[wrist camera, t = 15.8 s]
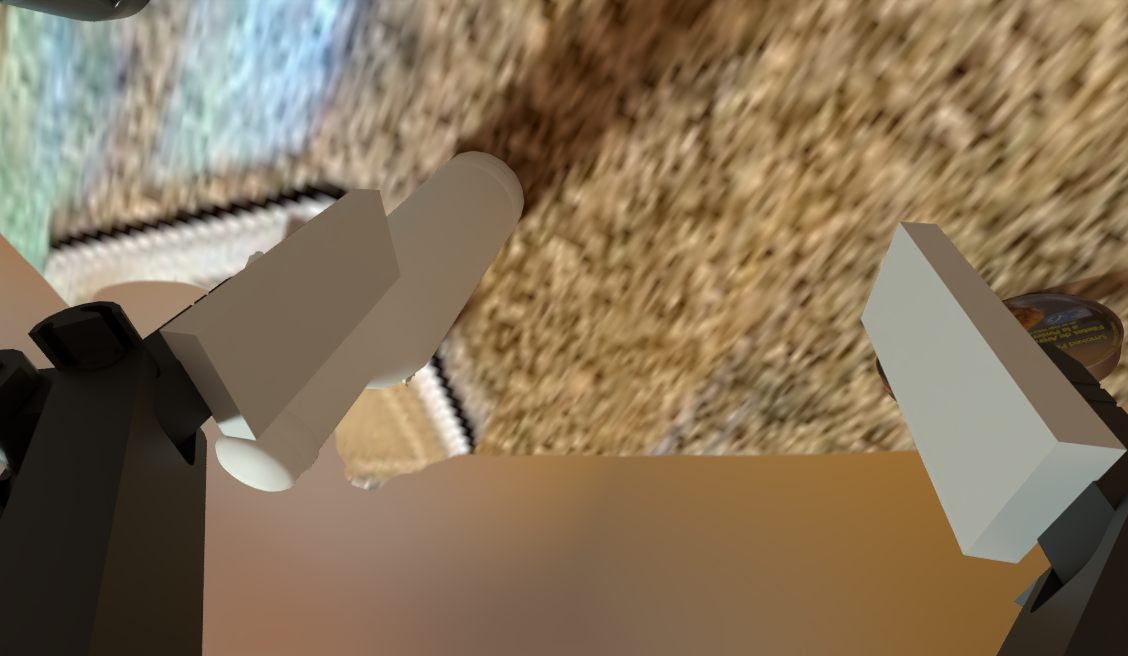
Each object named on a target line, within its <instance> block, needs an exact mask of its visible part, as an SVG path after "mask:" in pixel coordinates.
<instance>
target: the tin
mask: <svg viewBox="0 0 1128 656" xmlns="http://www.w3.org/2000/svg"><path fill="white" fill-rule="evenodd" d="M1002 303H1003V304H1004V305H1005V306H1006V307H1007V308H1008V310H1009V311H1010V312H1011V313H1012V314H1013V316H1014V317H1015V318H1016V319H1017V320H1018V321H1019V323H1020V324H1021V325H1022V326H1023V327H1024V329H1025V330H1026V331H1027V332H1028V333H1029V334H1030V336H1031V337H1032V338H1033V339H1034V340H1035V342H1040V343H1051V344H1053V345H1054V346H1056V347H1058V348H1059V349H1061V350H1062V351H1064V352H1065V353H1067V354H1068V355H1070V356H1071V357H1073V358H1074V359H1076V360H1077V361H1079V362H1080V363H1082V365H1083V366H1084V367H1085V368H1086V369H1087V370H1088V371H1089V372H1090V373H1091V374H1092V375H1093V377H1094V378H1095V379H1096V380H1097V381H1098V382H1099V381H1101V380H1103V379H1104V378H1105V377H1107V376H1108V375H1109V374H1110V373H1111V372H1112V371H1113V370H1114V369H1115V367H1116V366H1117V364H1118V362H1119V359H1120V355H1121V343H1122V341H1123V337H1124V329H1123V325H1122V323H1121V321H1120V319H1119V318H1118V316H1117V315H1116V314H1115V313H1114V312H1113V311H1111V310H1110V309H1109V308H1107V307H1105V306H1104V305H1102V304H1100V303H1098V302H1095V301H1093V300H1090V299H1086V298H1083V297H1079V296H1074V295H1068V294H1059V293H1038V294H1029V295H1023V296H1018V297H1014V298H1010V299H1007V300H1004V301H1002ZM876 367H877V370H878V373H879V375H880V376H881V378H882V381H883V384H884V387H885V388H886V390H887V392H888V393H889V395H890V396H891V397H892V398H893V399H894V400H895V401H896V398H895V396H894V394H893V391H892V389H891V387H890V384H889V382H888V380H887V378H886V375H885V373H884V371H883V368H882V366H881V364H880V361H879V359H878V357H877V359H876ZM896 402H897V401H896Z"/></svg>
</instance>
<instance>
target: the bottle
mask: <svg viewBox="0 0 1128 656" xmlns="http://www.w3.org/2000/svg"><path fill="white" fill-rule="evenodd" d="M523 206H524V197H523V190H522V186H521V184H520V182H519V180H518V178H517V176H516V174H515V173H514V172H513V171H512V170H511V169H510V168H509V166H508V165H507V164H506V163H505V162H504V161H502V160H500V159H498V158H497V157H495V156H493V155H491V154H489V153H484V152H478V151H470V152H465V153H460V154H458V155H457V156H455V157H454V158H452V159H451V160H449V161H448V162H447V163H445V164H444V165H442V166H441V167H440V168H438V169H437V170H436V171H435V172H434V173H433V175H432V176H431V177H430V178H429V179H428V180H427V181H426V182H425V183H424V184H422V185H421V186H420V187H419V188H418V189H417V190H416V191H415V192H414V193H412V194H411V195H410V196H409V197H408V198H407V199H406V200H405V201H403V202H402V203H401V204H400V205H399V206H398V207H397V208H396V209H395V210H393V211H392V212H391V213H390V214H389V215H388V216H387V217H386V219H387V223H388V227H389V231H390V235H391V239H392V243H393V247H394V251H395V255H396V259H397V263H398V267H399V271H400V275H401V276H400V278H399V279H398V280H397V281H396V282H395V283H394V284H393V286H392V287H391V288H390V289H389V290H388V291H387V292H386V293H385V295H384V296H383V297H382V298H381V299H380V300H379V301H378V303H377V304H376V305H375V306H374V307H373V308H372V309H371V311H370V312H369V313H368V314H367V315H366V316H365V317H364V319H363V320H362V321H361V322H360V323H359V324H358V325H357V327H356V328H355V329H354V330H353V331H352V332H351V333H350V334H349V336H348V337H347V338H346V339H345V340H344V341H343V342H342V344H341V345H340V346H339V347H338V348H337V349H336V350H335V352H334V353H333V354H332V355H331V356H330V357H329V358H328V360H327V361H326V362H325V363H324V364H323V365H322V366H321V367H320V369H319V370H318V371H317V372H316V373H315V374H314V375H313V377H312V378H311V379H310V380H309V381H308V382H307V383H306V385H305V386H304V387H303V388H302V389H301V390H300V391H299V393H298V394H297V395H296V396H295V397H294V398H293V399H292V400H291V402H290V403H289V404H288V405H287V406H286V407H285V408H284V410H283V411H282V412H281V413H280V414H279V415H278V416H277V418H276V419H275V420H274V421H273V422H272V423H271V424H270V426H269V427H268V428H267V429H266V430H265V431H264V432H263V434H262V435H261V436H260V437H259V438H258V439H257V440H251V439H245V438H238V437H232V436H226V435H224V434H222V435H221V436H220V438H219V439H218V440H217V442H216V445H215V448H216V452H217V456H218V460H219V461H220V463H221V464H222V466H223V467H224V469H226V470H227V471H228V472H229V473H230V474H231V475H232V476H234V477H235V478H237V479H238V480H240V481H241V482H243V483H245V484H247V485H250V486H252V487H254V488H257V489H261V490H264V491H281V490H286V489H288V488H291V487H292V486H293V485H294V484H295V482H296V481H297V480H298V478H299V477H300V475H301V474H303V473H304V472H306V471H308V470H309V469H310V468H311V466H312V465H313V464H314V462H315V461H316V459H317V457H318V453H319V450H320V448H321V447H322V446H323V444H324V443H325V441H326V440H327V439H328V438H329V436H330V435H331V433H332V432H333V431H334V429H335V428H336V427H337V425H338V424H339V423H340V421H341V420H342V419H343V417H344V416H345V415H346V413H347V412H348V410H349V409H350V408H351V406H352V405H353V404H354V402H355V401H356V400H357V398H358V397H359V396H360V394H361V393H362V392H363V390H364V389H365V388H369V389H375V388H389V387H391V386H393V385H395V384H397V383H400V382H401V381H403V380H405V379H406V378H408V377H410V376H411V375H413V374H414V373H416V372H417V371H419V370H420V369H421V368H423V367H424V366H425V365H426V364H427V362H428V361H429V360H430V358H431V357H432V356H433V354H434V353H435V351H436V350H437V348H438V347H439V345H440V344H441V342H442V340H443V339H444V337H445V336H446V334H447V333H448V331H449V329H450V328H451V326H452V325H453V323H454V321H455V320H456V318H457V317H458V315H459V314H460V312H461V310H462V309H463V307H464V306H465V304H466V303H467V301H468V299H469V298H470V296H471V295H472V293H473V291H474V290H475V288H476V287H477V285H478V284H479V282H480V280H481V279H482V277H483V276H484V274H485V273H486V271H487V269H488V268H489V266H490V265H491V263H492V261H493V260H494V258H495V257H496V255H497V254H498V252H499V250H500V249H501V247H502V246H503V244H504V243H505V241H506V240H507V239H508V237H509V236H510V235H511V233H512V232H513V230H514V229H515V228H516V226H517V224H518V220H519V219H520V217H521V214H522V210H523Z"/></svg>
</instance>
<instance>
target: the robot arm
mask: <svg viewBox="0 0 1128 656" xmlns="http://www.w3.org/2000/svg"><path fill="white" fill-rule="evenodd" d="M148 2H149V0H0V3H2V4H7V5H11V6H16V7H20V8H25V9H29V10H34V11H38V12H43V13H48V14H52V15H57V16H61V17H66V18H70V19H75V20H80V21H93V22H95V21H106V20H113V19H121V18H126V17H129V16H132V15H134V14H136V13H137V12H139V11H140V10H141V9H143V8H144V7H145V5H146V4H147V3H148ZM400 276H401V275H400V271H399V267H398V263H397V259H396V255H395V251H394V247H393V243H392V239H391V235H390V231H389V227H388V223H387V219H386V215H385V211H384V207H383V203H382V199H381V195H380V191H379V190H369V189H353V190H352V191H350V192H349V193H347V194H346V195H345V196H343V197H342V198H341V199H339V200H338V201H336V202H335V203H334V204H332V205H331V206H330V207H328V208H327V209H325V210H324V211H323V212H321V213H320V214H319V215H317V216H316V217H314V218H313V219H312V220H310V221H309V222H308V223H306V224H305V225H303V226H302V227H301V228H299V229H298V230H297V231H295V232H294V233H292V234H291V235H290V236H288V237H287V238H286V239H284V240H283V241H281V242H280V243H279V244H277V245H276V246H275V247H273V248H272V249H270V250H269V251H268V252H266V253H265V254H264V255H262V256H261V257H259V258H258V259H257V260H255V261H254V262H253V263H251V264H250V265H248V266H247V267H246V268H244V269H243V270H242V271H240V272H239V273H237V274H236V275H235V276H233V277H230V278H228V279H226V280H225V281H223V282H222V283H221V284H219V285H218V286H216V287H215V288H214V289H212V290H211V291H209V294H208V295H204V296H203V297H201V298H200V299H199V300H197V301H196V302H194V305H190V306H189V307H187V308H186V309H185V310H183V311H182V312H180V313H179V314H178V315H176V316H175V317H174V318H172V319H171V320H169V321H168V322H167V323H165V324H164V325H162V326H161V327H160V328H158V329H157V330H155V331H154V332H153V333H151V334H150V335H149V336H147V337H146V338H144V339H143V340H142V338H141V337H140V335H139V334H138V332H137V330H136V329H135V327H134V326H133V324H132V323H131V321H130V320H129V318H128V317H127V315H126V314H125V313H124V311H123V309H122V308H121V306H120V305H118V304H116V303H114V302H105V301H104V302H103V301H98V302H92V303H86V304H81V305H78V306H74V307H71V308H68V309H65V310H63V311H60V312H58V313H56V314H54V315H52V316H49V317H48V318H46V319H44V320H43V321H42V322H40V323H38V324H37V325H36V326H35V327H34V328H33V329H32V330H31V331H30V332H29V333H28V334H29V336H30V337H31V338H32V339H33V341H34V342H35V343H36V344H37V346H38V347H39V348H40V349H41V351H42V352H43V353H44V354H45V355H46V357H47V358H48V359H49V360H50V361H51V362H52V364H53V365H54V366H55V368H46V369H36V367H35V366H34V365H33V364H32V363H31V362H30V360H29V359H28V358H27V357H26V356H25V354H24V353H23V352H22V351H18V350H14V349H5V350H0V463H1V464H2V465H3V466H4V467H5V468H6V469H5V470H4V471H3V473H2V474H1V475H0V656H202V633H203V588H204V544H205V543H204V541H205V497H206V455H207V454H206V453H207V440H206V437H205V434H204V432H203V431H202V429H201V428H200V426H201V425H202V424H203V423H204V422H205V421H206V420H207V419H208V418H209V417H210V416H213V418H214V419H215V420H216V422H217V424H218V426H219V427H220V429H221V430H222V432H223V434H224V435H226V436H232V437H238V438H245V439H251V440H257V439H258V438H259V437H260V436H261V435H262V434H263V432H264V431H265V430H266V429H267V428H268V427H269V426H270V424H271V423H272V422H273V421H274V420H275V419H276V418H277V416H278V415H279V414H280V413H281V412H282V411H283V410H284V408H285V407H286V406H287V405H288V404H289V403H290V402H291V400H292V399H293V398H294V397H295V396H296V395H297V394H298V393H299V391H300V390H301V389H302V388H303V387H304V386H305V385H306V383H307V382H308V381H309V380H310V379H311V378H312V377H313V375H314V374H315V373H316V372H317V371H318V370H319V369H320V367H321V366H322V365H323V364H324V363H325V362H326V361H327V360H328V358H329V357H330V356H331V355H332V354H333V353H334V352H335V350H336V349H337V348H338V347H339V346H340V345H341V344H342V342H343V341H344V340H345V339H346V338H347V337H348V336H349V334H350V333H351V332H352V331H353V330H354V329H355V328H356V327H357V325H358V324H359V323H360V322H361V321H362V320H363V319H364V317H365V316H366V315H367V314H368V313H369V312H370V311H371V309H372V308H373V307H374V306H375V305H376V304H377V303H378V301H379V300H380V299H381V298H382V297H383V296H384V295H385V293H386V292H387V291H388V290H389V289H390V288H391V287H392V286H393V284H394V283H395V282H396V281H397V280H398V279H399V278H400ZM861 320H862V322H863V325H864V327H865V329H866V332H867V334H868V336H869V338H870V341H871V343H872V345H873V348H874V350H875V352H876V355H877V357H878V359H879V361H880V364H881V366H882V368H883V371H884V373H885V375H886V378H887V380H888V382H889V384H890V387H891V389H892V391H893V394H894V396H895V398H896V401H897V403H898V405H899V407H900V410H901V412H902V414H903V417H904V419H905V421H906V424H907V426H908V428H909V430H910V433H911V435H912V437H913V440H914V442H915V444H916V447H917V449H918V451H919V453H920V456H921V458H922V460H923V463H924V465H925V467H926V470H927V471H928V474H929V476H930V479H931V481H932V483H933V485H934V488H935V490H936V493H937V495H938V497H939V499H940V502H941V504H942V506H943V509H944V511H945V513H946V515H947V518H948V520H949V522H950V525H951V527H952V529H953V532H954V534H955V536H956V539H957V541H958V543H959V545H960V548H961V550H962V552H963V555H968V556H974V557H981V558H987V559H993V560H999V561H1005V562H1011V563H1018V562H1019V561H1020V560H1021V559H1022V558H1023V557H1024V556H1025V555H1026V554H1027V553H1028V552H1029V551H1030V550H1031V549H1032V548H1033V546H1034V545H1035V544H1036V543H1037V542H1039V544H1040V546H1041V548H1042V549H1043V551H1044V553H1045V555H1046V556H1047V558H1048V560H1049V562H1050V563H1051V565H1052V566H1051V567H1050V568H1049V569H1048V570H1046V571H1045V572H1044V573H1043V574H1042V575H1041V576H1040V577H1039V578H1038V579H1037V580H1036V581H1035V582H1034V583H1033V584H1032V585H1031V586H1030V587H1029V588H1028V589H1026V590H1025V591H1024V592H1023V593H1022V594H1021V595H1020V596H1019V597H1018V598H1017V599H1016V600H1015V601H1014V602H1016V603H1017V604H1019V605H1020V606H1021V607H1023V608H1022V610H1021V612H1020V613H1019V615H1018V617H1017V619H1016V621H1015V623H1014V625H1013V626H1012V628H1011V630H1010V632H1009V634H1008V635H1007V637H1006V639H1005V641H1004V643H1003V645H1002V647H1001V648H1000V650H999V652H998V654H997V656H1128V414H1127V413H1126V412H1125V411H1124V410H1123V408H1122V407H1117V406H1116V404H1117V402H1116V401H1115V400H1114V399H1113V397H1112V396H1111V395H1110V394H1109V393H1108V392H1107V391H1106V390H1105V389H1101V388H1100V385H1101V384H1100V383H1099V382H1098V381H1097V380H1096V379H1095V378H1094V377H1093V375H1092V374H1091V373H1090V372H1089V371H1088V370H1087V369H1086V368H1085V367H1084V366H1083V365H1082V363H1080V362H1079V361H1077V360H1076V359H1074V358H1073V357H1071V356H1070V355H1068V354H1067V353H1065V352H1064V351H1062V350H1061V349H1059V348H1058V347H1056V346H1054V345H1053V344H1051V343H1040V342H1035V340H1034V339H1033V338H1032V337H1031V336H1030V334H1029V333H1028V332H1027V331H1026V330H1025V329H1024V327H1023V326H1022V325H1021V324H1020V323H1019V321H1018V320H1017V319H1016V318H1015V317H1014V316H1013V314H1012V313H1011V312H1010V311H1009V310H1008V308H1007V307H1006V306H1005V305H1004V304H1003V303H1002V301H1001V300H1000V299H999V298H998V297H997V295H996V294H995V293H994V292H993V291H992V289H991V288H990V287H989V286H988V285H987V284H986V282H985V281H984V280H983V279H982V278H981V276H980V275H979V274H978V273H977V272H976V271H975V269H974V268H973V267H972V266H971V265H970V263H969V262H968V261H967V260H966V259H965V258H964V256H963V255H962V254H961V253H960V252H959V250H958V249H957V248H956V247H955V246H954V244H953V243H952V242H951V241H950V240H949V239H948V237H947V236H946V235H945V234H944V233H943V231H942V230H941V229H940V228H939V227H938V226H937V224H926V223H910V222H899V225H898V227H897V230H896V232H895V235H894V237H893V240H892V242H891V245H890V247H889V250H888V252H887V255H886V257H885V260H884V262H883V265H882V267H881V270H880V272H879V275H878V277H877V280H876V282H875V285H874V287H873V290H872V292H871V295H870V297H869V300H868V302H867V305H866V307H865V310H864V312H863V315H862V317H861Z"/></svg>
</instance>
